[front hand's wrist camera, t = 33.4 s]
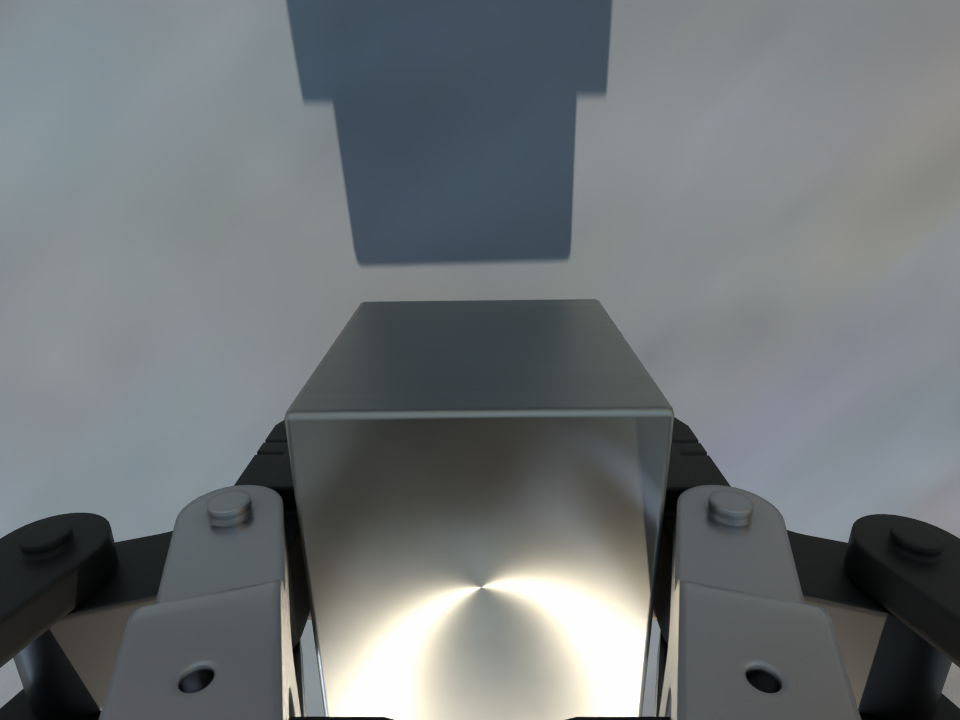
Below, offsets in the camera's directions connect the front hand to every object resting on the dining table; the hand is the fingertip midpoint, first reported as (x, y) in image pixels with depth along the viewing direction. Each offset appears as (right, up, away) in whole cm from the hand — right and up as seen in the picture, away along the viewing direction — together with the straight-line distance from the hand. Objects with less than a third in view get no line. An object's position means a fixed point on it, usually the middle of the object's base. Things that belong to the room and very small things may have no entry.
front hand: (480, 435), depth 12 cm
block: (0, 0, 0) cm, 1 cm away
